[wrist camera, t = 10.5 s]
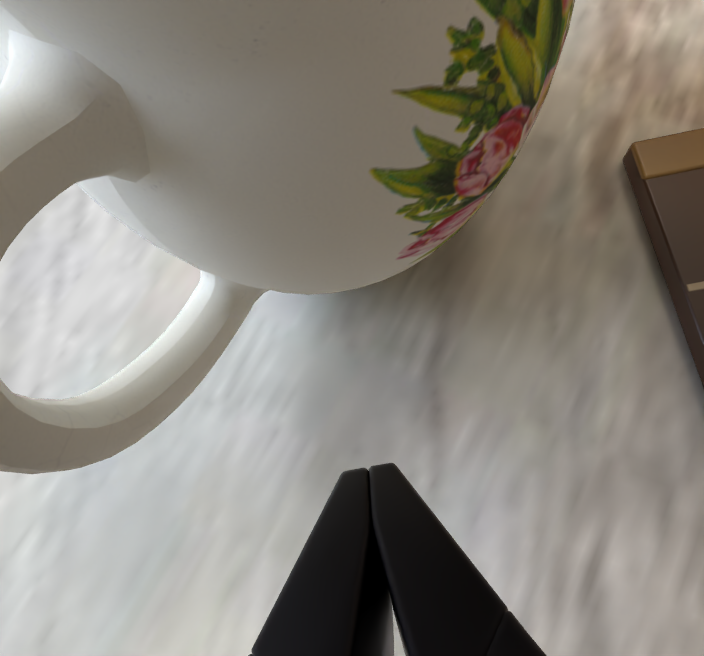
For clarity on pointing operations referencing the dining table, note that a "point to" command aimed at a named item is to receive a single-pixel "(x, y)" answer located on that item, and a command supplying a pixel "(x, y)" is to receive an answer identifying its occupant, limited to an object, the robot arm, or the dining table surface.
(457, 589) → the robot arm
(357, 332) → the dining table surface
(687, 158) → the ruler
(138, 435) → the pitcher
